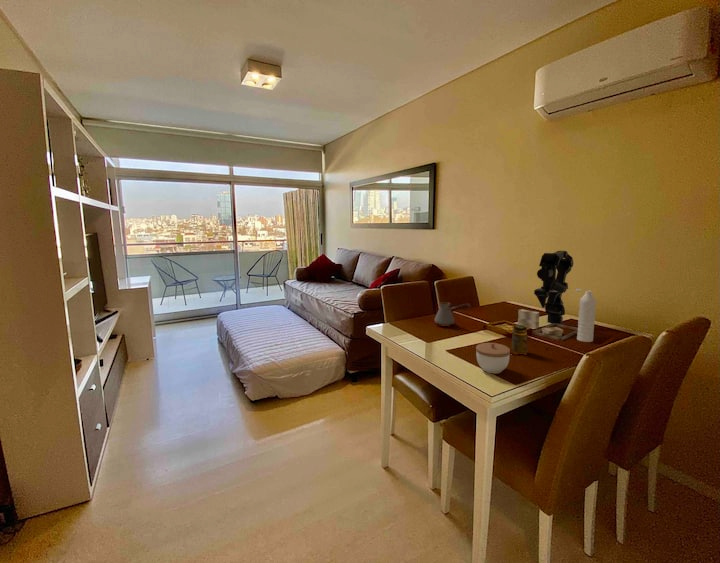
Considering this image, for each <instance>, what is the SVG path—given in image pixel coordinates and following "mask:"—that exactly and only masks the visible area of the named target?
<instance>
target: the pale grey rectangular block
mask: <svg viewBox="0 0 720 563" xmlns="http://www.w3.org/2000/svg"><path fill="white" fill-rule="evenodd" d="M517 315H518V316H517V324H519V325H523V326H526V328H531V329H535V330H538V329H540V328H539V327H540V326H539V325H540V312H539V311H535V310H534V311H533V310H527V309H522V308H521V309H518V314H517Z"/></svg>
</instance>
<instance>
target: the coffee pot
mask: <svg viewBox="0 0 720 563" xmlns="http://www.w3.org/2000/svg"><path fill="white" fill-rule="evenodd" d="M438 304H439V307H438V308H439V309H438V311H437V313H436V315H435V317H434V318H433V319H434V320H433V321H434V323H438V324H443V325H448V324H452V325H454V323H455V322H456V320H455V318H454V315H453V313H452V311H451V310H455V309H458V308H463V307H466V306H468V308H470V303H469V302H467V303H462V304H460V305H455V306H453V307H450V306H451V303H450V302H447V301H440V302H439V303H438ZM438 324H437V325H438Z"/></svg>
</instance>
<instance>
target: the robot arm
mask: <svg viewBox="0 0 720 563" xmlns="http://www.w3.org/2000/svg"><path fill="white" fill-rule="evenodd" d="M539 267H541V268H539V270H537V272H536V276H537V278H538V279H540V281H541V282H542V286H540V288H536V289H535V290H533V295H535V297H536V298H537V300H538V301H539V304H540V306H541V308H543V309H544V310H545V314H547V322H546V323H549V324H553V323H557V324H562V325H564V323H563V321H564V320H563V319H564V318H563V316H566V308H565V305H564V302H563V299H562V297H563V294H564V293H566V292H567V290H568V289H569V284H568V282H566V280H567V279H566V278H567V275H568V274H569V273H570V272H571V270H572V268H573V267H574V259H573V256H571V255H570V254H569V253H568V251H566V250H556V251H555V252H544V253H543V254H542V255H541V258H540V262H539Z"/></svg>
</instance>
